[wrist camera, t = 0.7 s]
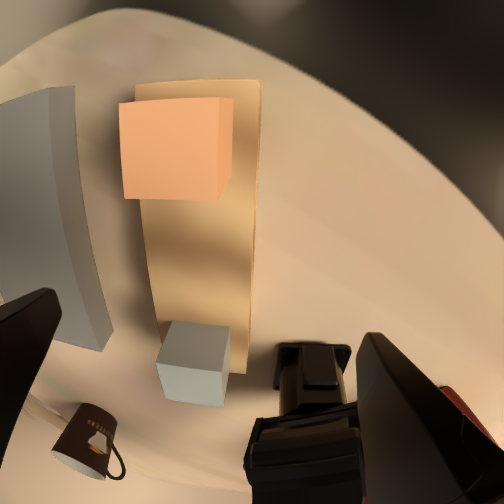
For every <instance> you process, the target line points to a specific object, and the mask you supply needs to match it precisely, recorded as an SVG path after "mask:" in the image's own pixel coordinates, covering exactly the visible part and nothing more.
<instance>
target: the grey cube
mask: <svg viewBox="0 0 504 504" xmlns="http://www.w3.org/2000/svg"><path fill="white" fill-rule="evenodd" d="M156 367H157V370H158V374H159V377H160V381H161V384H162V387H163V391H164V394H165V397H166V399H169V400H174V401H180V402H186V403H193V404H199V405H207V406H214V407H223V406H224V400H225V394H226V388H227V382H228V376H229V370H230V327H229V326H219V325H209V324H200V323H191V322H182V321H174V320H173V321H172V323H171V326H170V328H169V330H168V333H167V335H166V338H165V340H164V343H163V345H162V348H161V350H160V353H159V355H158V358H157V360H156Z"/></svg>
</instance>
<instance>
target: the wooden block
mask: <svg viewBox="0 0 504 504" xmlns="http://www.w3.org/2000/svg"><path fill="white" fill-rule="evenodd" d="M262 88H263V84H262V83H261V81H260V80H243V79H211V80H185V81H170V82H158V83H148V84H139V85H135V102H138V101H148V100H160V99H176V98H203V97H221V98H233V99H234V105H233V135H232V172H231V178H230V180H229V181H228V183H227V185H226V187H225V189H224V190H223V192H222V194H221V196H220V198H219V199H218V201H196V200H167V199H140V209H141V218H142V227H143V236H144V244H145V251H146V258H147V265H148V272H149V278H150V284H151V290H152V296H153V302H154V307H155V312H156V318H157V323H158V328H159V333H160V337H161V342H162V345H163V343H164V340H165V338H166V335H167V333H168V330H169V328H170V326H171V323H172V321H173V320H174V321H182V322H191V323H200V324H209V325H219V326H229V327H230V370H229V372H230V373H240V374H246V368H247V360H248V351H249V342H250V324H251V305H252V286H253V267H254V248H255V228H256V209H257V189H258V169H259V149H260V129H261V109H262Z"/></svg>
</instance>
